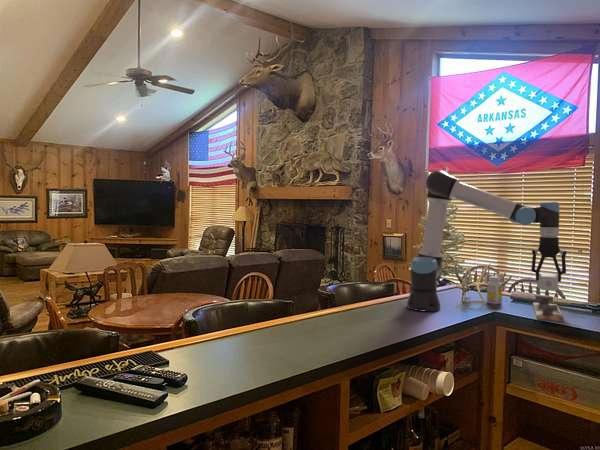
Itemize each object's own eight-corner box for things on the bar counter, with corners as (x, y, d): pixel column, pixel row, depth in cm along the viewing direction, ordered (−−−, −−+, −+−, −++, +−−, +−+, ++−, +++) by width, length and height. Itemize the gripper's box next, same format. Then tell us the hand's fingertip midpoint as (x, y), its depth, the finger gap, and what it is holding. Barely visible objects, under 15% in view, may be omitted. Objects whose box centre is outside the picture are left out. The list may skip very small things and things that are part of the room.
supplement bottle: (498, 301, 224) (499, 275, 224) (503, 304, 218) (504, 278, 217) (485, 301, 225) (485, 275, 224) (489, 304, 219) (489, 277, 218)
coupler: (541, 290, 198) (541, 276, 198) (539, 286, 206) (539, 273, 206) (556, 291, 196) (557, 277, 195) (554, 287, 204) (555, 274, 203)
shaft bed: (536, 318, 192) (536, 305, 191) (532, 305, 215) (533, 293, 215) (563, 321, 188) (563, 307, 187) (556, 307, 211) (557, 295, 211)
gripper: (525, 236, 200) (524, 288, 201) (575, 237, 192) (573, 291, 194) (524, 235, 207) (523, 285, 208) (572, 236, 199) (571, 288, 200)
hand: (548, 288), depth 201 cm, fingers closed on coupler, 6 cm apart
